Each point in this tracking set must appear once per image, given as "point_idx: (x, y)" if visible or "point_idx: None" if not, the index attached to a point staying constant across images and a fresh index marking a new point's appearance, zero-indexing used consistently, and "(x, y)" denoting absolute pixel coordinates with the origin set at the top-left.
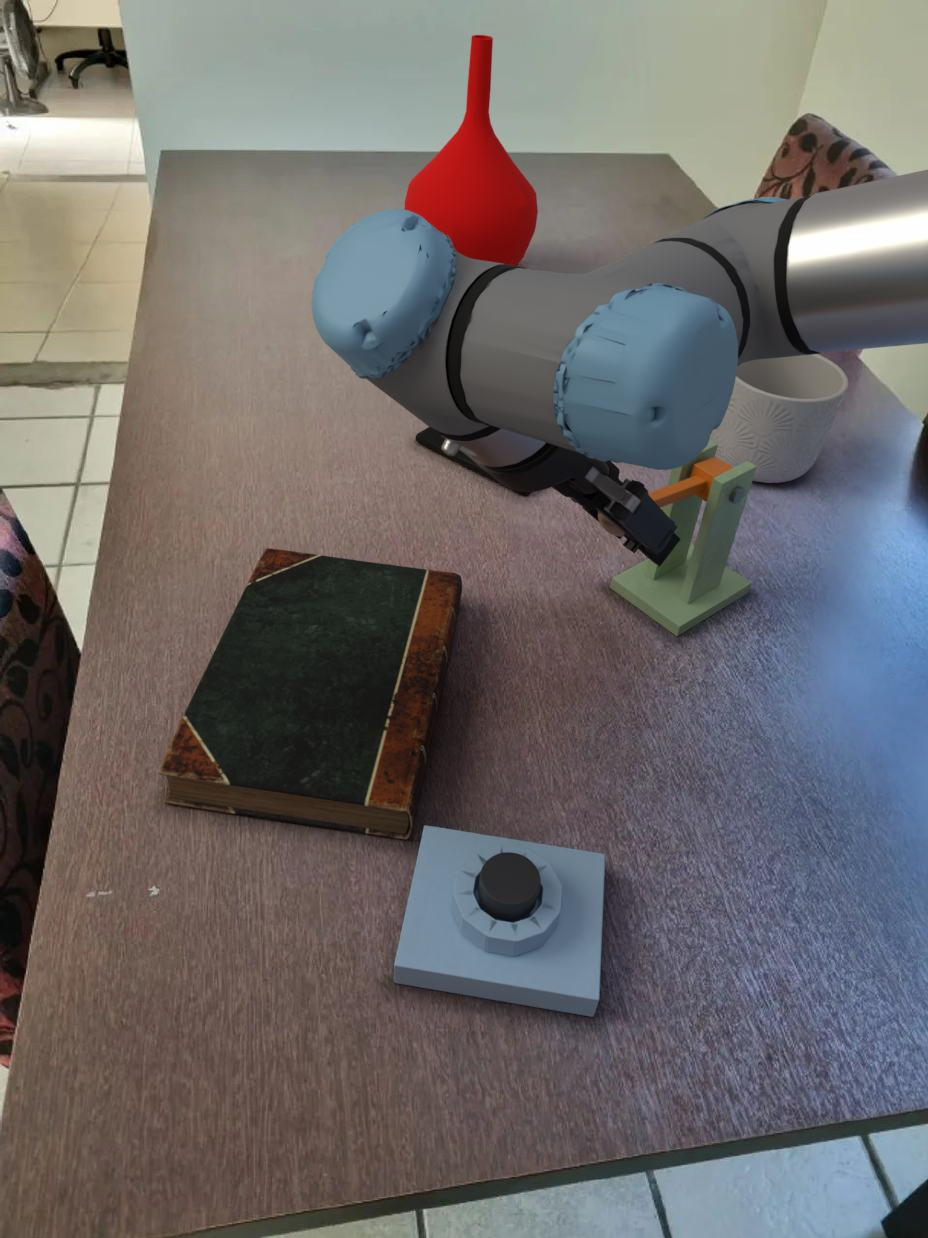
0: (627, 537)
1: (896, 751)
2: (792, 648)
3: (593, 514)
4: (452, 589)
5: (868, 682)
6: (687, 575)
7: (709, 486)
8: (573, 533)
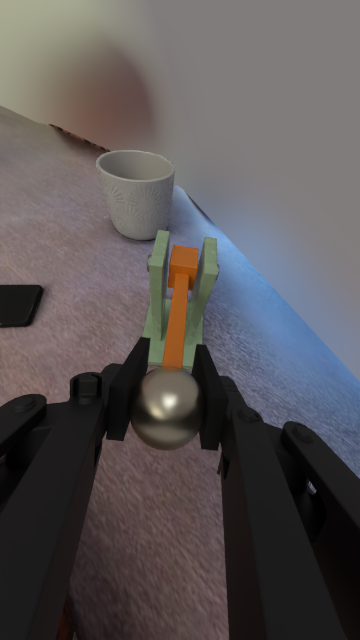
0: (209, 447)
1: (327, 358)
2: (245, 329)
3: (127, 426)
4: None
5: (283, 324)
6: (187, 335)
7: (193, 278)
8: (85, 334)
